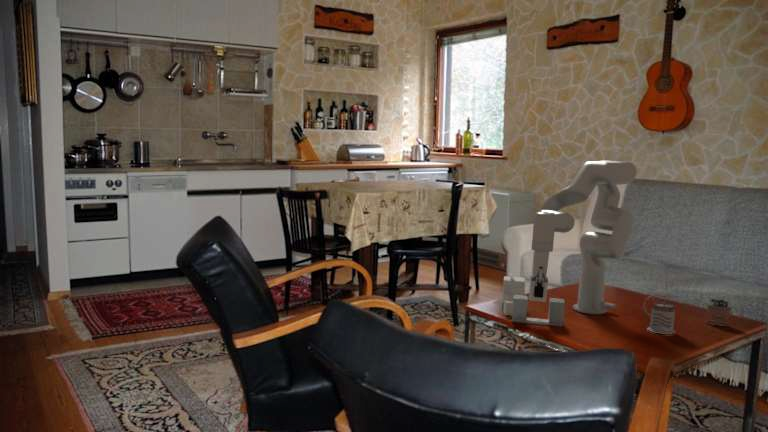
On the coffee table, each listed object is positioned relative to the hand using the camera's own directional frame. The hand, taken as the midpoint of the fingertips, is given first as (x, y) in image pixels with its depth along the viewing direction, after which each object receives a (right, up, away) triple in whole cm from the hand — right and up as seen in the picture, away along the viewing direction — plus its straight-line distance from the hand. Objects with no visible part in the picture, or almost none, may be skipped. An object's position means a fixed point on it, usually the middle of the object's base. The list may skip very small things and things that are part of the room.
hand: (538, 294), depth 234 cm
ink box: (-5, -8, +22) cm, 24 cm away
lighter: (+70, -13, +9) cm, 72 cm away
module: (0, -2, 0) cm, 2 cm away
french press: (+43, -13, -2) cm, 45 cm away
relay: (-8, -9, +11) cm, 17 cm away
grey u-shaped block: (0, -10, +2) cm, 11 cm away
